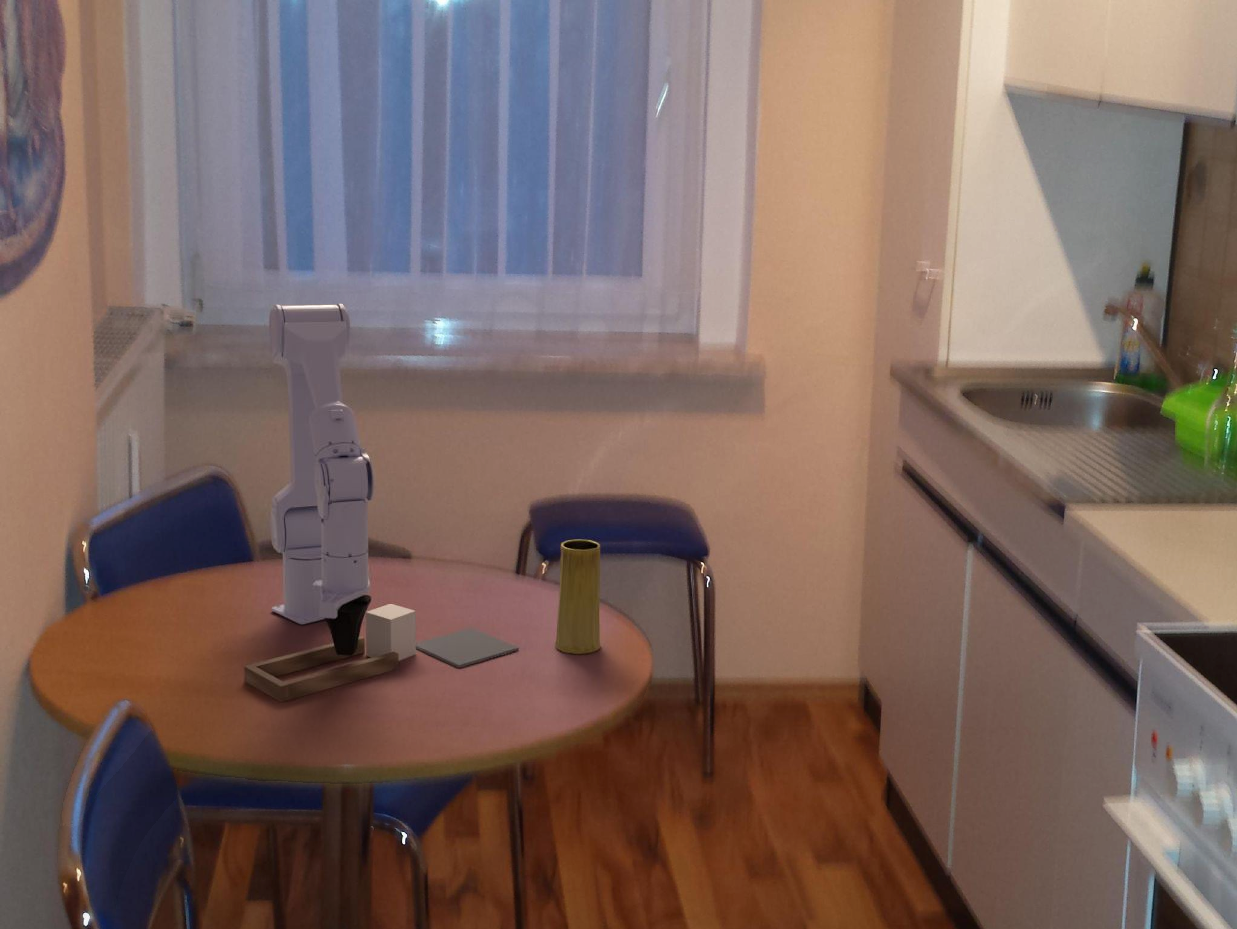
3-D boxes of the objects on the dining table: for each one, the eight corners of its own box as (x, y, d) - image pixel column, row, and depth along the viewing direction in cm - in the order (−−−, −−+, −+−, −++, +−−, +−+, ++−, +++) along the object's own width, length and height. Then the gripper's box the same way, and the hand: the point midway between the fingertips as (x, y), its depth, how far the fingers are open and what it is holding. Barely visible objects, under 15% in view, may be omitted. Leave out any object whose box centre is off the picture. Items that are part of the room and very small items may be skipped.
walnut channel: (360, 650, 187) (360, 635, 187) (398, 668, 181) (398, 653, 181) (244, 681, 175) (244, 666, 175) (281, 702, 170) (280, 686, 169)
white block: (390, 646, 189) (390, 603, 188) (415, 654, 186) (415, 610, 185) (366, 655, 185) (365, 612, 184) (391, 663, 183) (390, 619, 182)
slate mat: (471, 630, 196) (471, 627, 196) (518, 650, 189) (518, 647, 189) (412, 646, 189) (412, 643, 189) (458, 668, 182) (459, 665, 182)
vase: (610, 647, 191) (613, 545, 188) (577, 658, 187) (580, 554, 183) (577, 635, 195) (580, 535, 192) (545, 646, 191) (547, 544, 187)
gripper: (331, 532, 185) (333, 631, 188) (294, 566, 171) (296, 672, 174) (384, 536, 184) (385, 635, 187) (351, 569, 170) (352, 676, 173)
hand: (346, 653), depth 180 cm, fingers closed
